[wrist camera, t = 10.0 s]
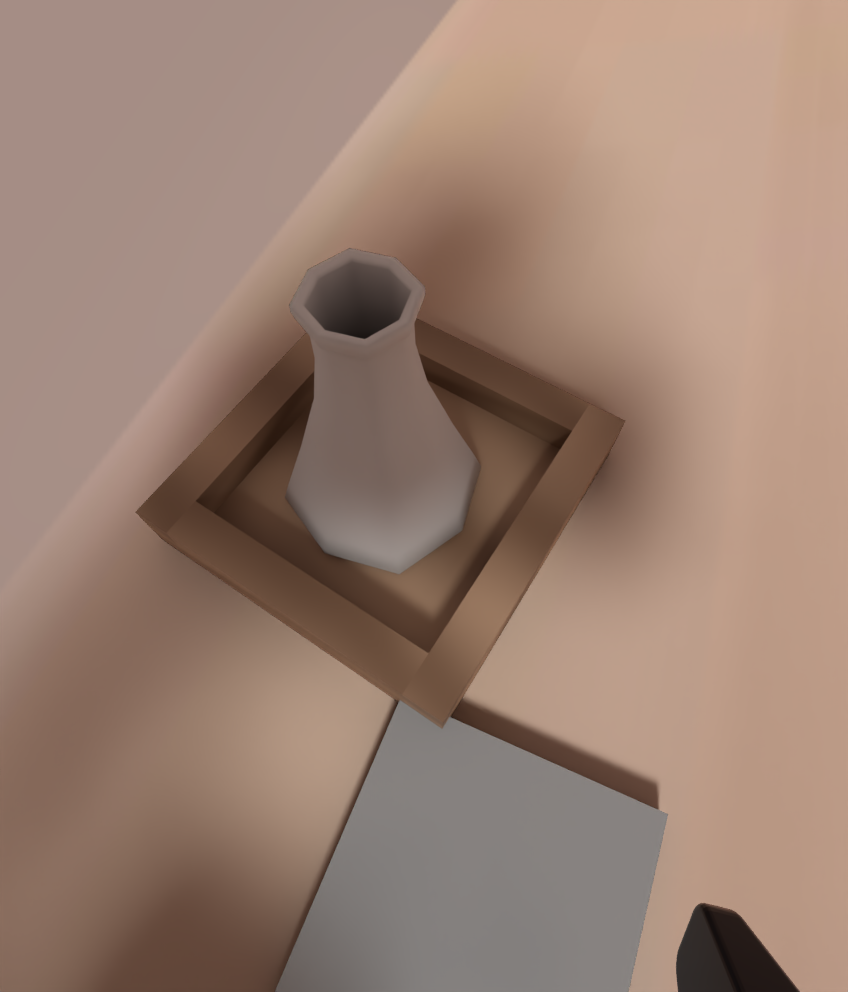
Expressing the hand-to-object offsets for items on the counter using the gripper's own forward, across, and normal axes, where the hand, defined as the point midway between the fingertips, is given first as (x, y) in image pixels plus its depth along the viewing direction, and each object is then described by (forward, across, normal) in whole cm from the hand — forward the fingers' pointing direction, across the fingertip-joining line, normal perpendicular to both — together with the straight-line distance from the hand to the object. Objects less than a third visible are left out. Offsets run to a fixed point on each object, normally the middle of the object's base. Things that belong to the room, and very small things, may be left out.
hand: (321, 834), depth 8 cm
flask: (+17, +3, +1) cm, 17 cm away
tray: (+18, +3, +2) cm, 18 cm away
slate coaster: (+8, -3, +11) cm, 14 cm away
